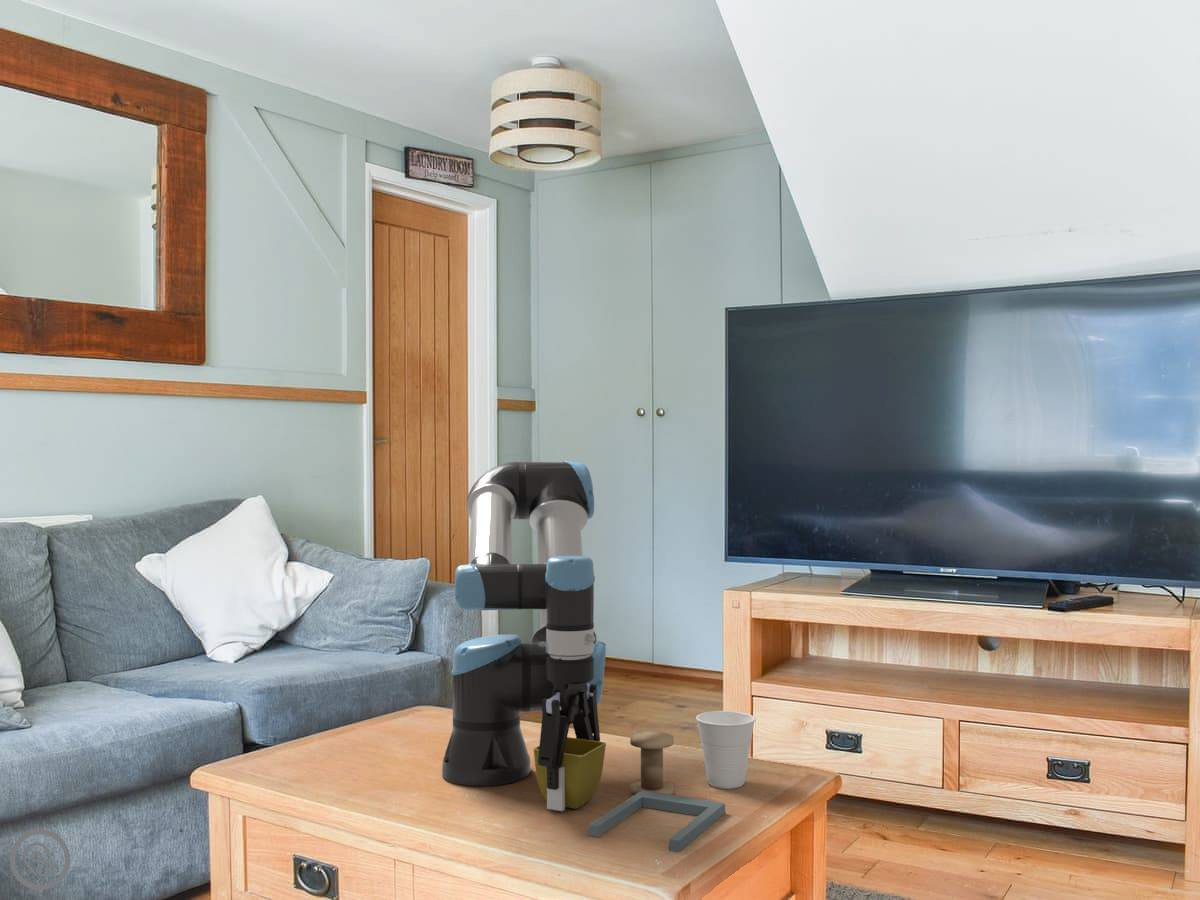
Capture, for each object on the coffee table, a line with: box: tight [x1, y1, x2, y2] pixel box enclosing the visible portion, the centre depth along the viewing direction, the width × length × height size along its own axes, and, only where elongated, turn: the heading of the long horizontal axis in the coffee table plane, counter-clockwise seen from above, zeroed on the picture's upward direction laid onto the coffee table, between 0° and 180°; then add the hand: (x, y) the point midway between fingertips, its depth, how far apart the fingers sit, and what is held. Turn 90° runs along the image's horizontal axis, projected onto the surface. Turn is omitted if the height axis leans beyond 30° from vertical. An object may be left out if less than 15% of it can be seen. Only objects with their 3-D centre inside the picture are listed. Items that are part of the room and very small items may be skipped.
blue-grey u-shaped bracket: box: [587, 790, 726, 853], centre depth 149 cm, size 18×14×2 cm
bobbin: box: [629, 731, 675, 797], centre depth 164 cm, size 7×7×9 cm
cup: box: [695, 710, 756, 790], centre depth 169 cm, size 10×10×11 cm
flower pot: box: [533, 736, 607, 809], centre depth 159 cm, size 9×9×9 cm
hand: (570, 800), depth 159 cm, fingers closed on flower pot, 8 cm apart
